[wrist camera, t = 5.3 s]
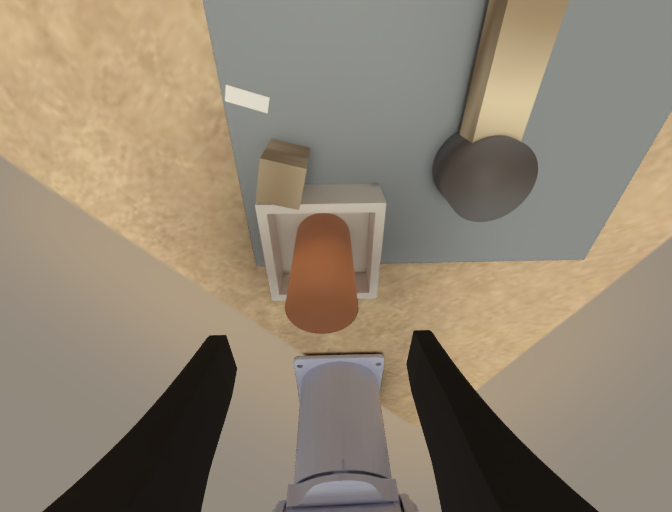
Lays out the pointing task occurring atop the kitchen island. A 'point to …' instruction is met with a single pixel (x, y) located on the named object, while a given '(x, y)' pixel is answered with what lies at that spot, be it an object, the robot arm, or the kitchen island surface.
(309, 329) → the pin
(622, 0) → the board
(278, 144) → the stop post
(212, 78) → the kitchen island surface
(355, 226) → the dish
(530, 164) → the crank
